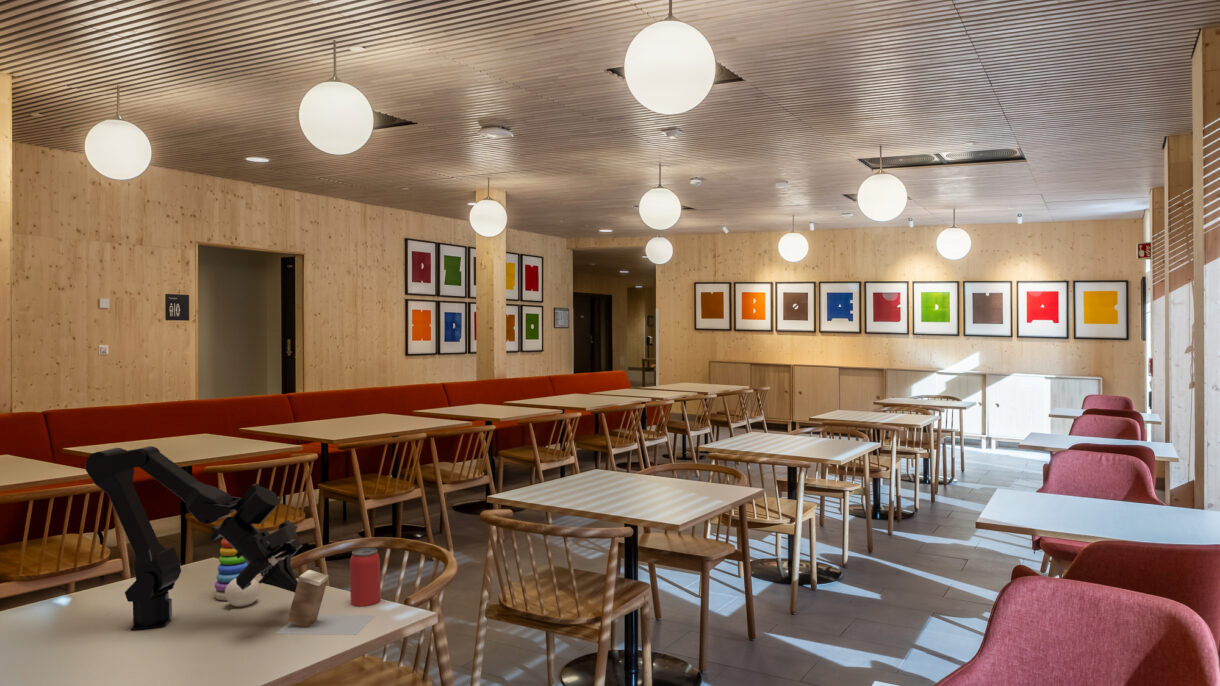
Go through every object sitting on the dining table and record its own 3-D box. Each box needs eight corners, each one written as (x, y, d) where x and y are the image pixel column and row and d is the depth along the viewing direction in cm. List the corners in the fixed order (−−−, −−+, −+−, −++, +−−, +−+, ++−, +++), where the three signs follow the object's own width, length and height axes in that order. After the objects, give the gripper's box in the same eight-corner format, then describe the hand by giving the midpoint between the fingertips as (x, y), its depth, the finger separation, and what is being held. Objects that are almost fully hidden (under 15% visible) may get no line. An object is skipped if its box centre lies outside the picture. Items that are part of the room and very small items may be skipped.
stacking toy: (242, 601, 187) (239, 521, 186) (207, 602, 187) (205, 521, 186) (257, 590, 195) (255, 513, 194) (224, 590, 195) (222, 513, 194)
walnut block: (287, 621, 169) (299, 576, 168) (297, 613, 173) (309, 569, 173) (307, 627, 168) (319, 582, 168) (316, 620, 173) (328, 575, 172)
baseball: (233, 600, 188) (233, 572, 187) (264, 600, 187) (263, 572, 187) (218, 611, 181) (217, 581, 181) (250, 611, 180) (249, 581, 180)
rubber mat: (275, 635, 166) (275, 633, 166) (299, 616, 177) (299, 614, 176) (356, 636, 164) (356, 634, 164) (375, 617, 175) (375, 615, 175)
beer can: (386, 600, 186) (385, 548, 186) (367, 610, 180) (365, 556, 180) (364, 597, 189) (363, 545, 188) (344, 606, 183) (343, 553, 182)
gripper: (248, 523, 161) (304, 577, 161) (291, 502, 180) (341, 551, 180) (212, 562, 162) (267, 617, 162) (258, 538, 181) (308, 586, 180)
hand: (298, 590), depth 171 cm, fingers closed
